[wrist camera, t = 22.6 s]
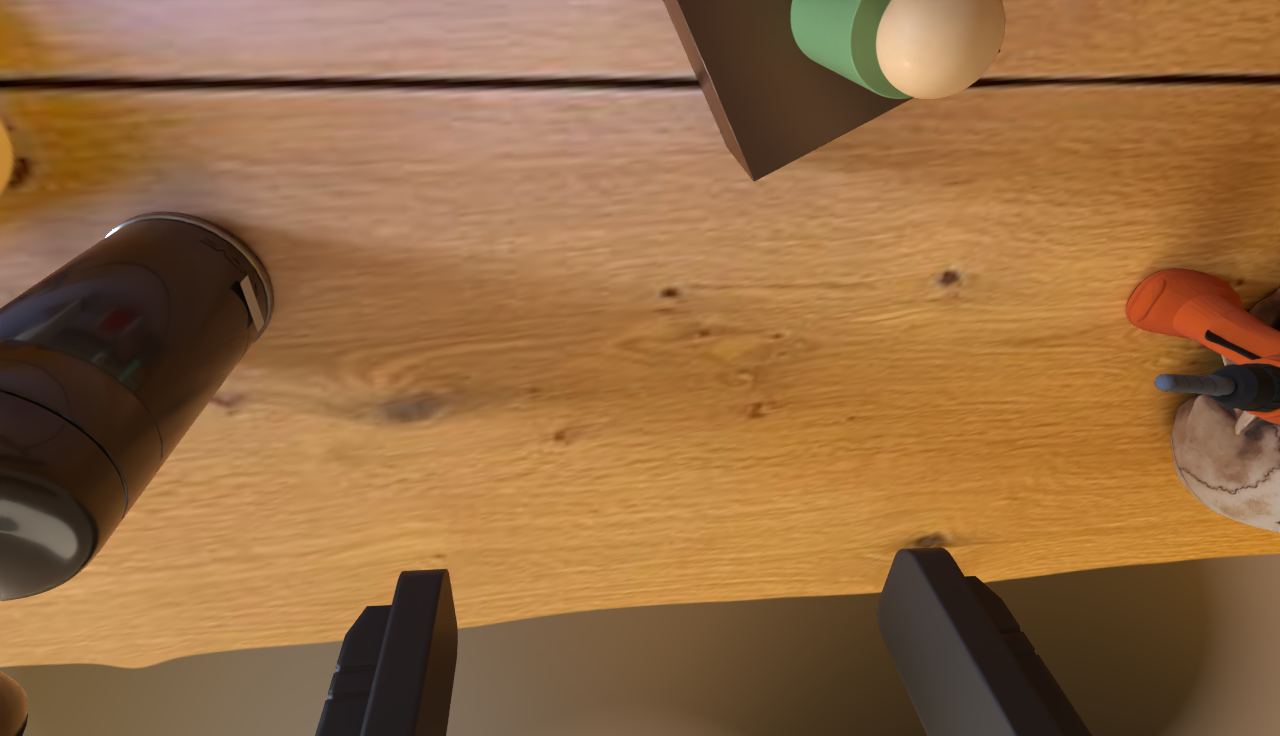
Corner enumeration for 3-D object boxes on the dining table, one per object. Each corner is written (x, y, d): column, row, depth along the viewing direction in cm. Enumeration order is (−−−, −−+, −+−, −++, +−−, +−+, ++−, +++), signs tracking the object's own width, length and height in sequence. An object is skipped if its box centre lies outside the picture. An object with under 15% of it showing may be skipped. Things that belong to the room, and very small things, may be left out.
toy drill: (1026, 246, 44) (1242, 375, 32) (1226, 272, 50) (1474, 389, 38) (991, 311, 47) (1179, 453, 35) (1185, 329, 52) (1405, 456, 40)
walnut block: (727, 148, 40) (753, 182, 35) (643, -45, 34) (659, -40, 29) (937, 34, 38) (1001, 52, 32) (885, -193, 32) (952, -218, 27)
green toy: (810, 85, 32) (914, 149, 23) (775, -18, 30) (875, 8, 20) (905, 32, 31) (1054, 77, 22) (877, -77, 29) (1031, -79, 20)
